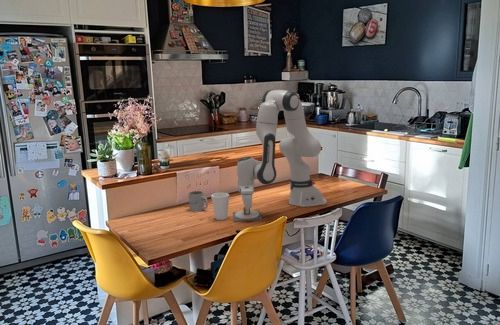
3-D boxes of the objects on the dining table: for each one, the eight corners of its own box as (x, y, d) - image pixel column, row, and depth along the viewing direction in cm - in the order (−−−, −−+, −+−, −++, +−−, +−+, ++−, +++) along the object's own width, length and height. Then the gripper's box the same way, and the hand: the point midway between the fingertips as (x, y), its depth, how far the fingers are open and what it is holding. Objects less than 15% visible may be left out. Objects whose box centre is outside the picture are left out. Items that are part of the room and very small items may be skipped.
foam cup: (227, 221, 226) (226, 197, 224) (210, 220, 228) (209, 197, 226) (231, 215, 236) (230, 192, 233) (215, 215, 237) (214, 192, 235)
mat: (259, 211, 241) (259, 210, 241) (262, 220, 226) (262, 218, 226) (232, 213, 240) (232, 212, 240) (234, 221, 225) (234, 220, 225)
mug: (186, 209, 249) (185, 193, 247) (198, 206, 255) (197, 190, 253) (200, 213, 241) (199, 196, 239) (211, 210, 247) (210, 193, 245)
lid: (257, 211, 240) (257, 203, 239) (260, 218, 227) (260, 210, 226) (234, 212, 239) (234, 204, 238) (235, 220, 226) (235, 211, 225)
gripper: (238, 182, 240) (239, 206, 242) (241, 192, 220) (242, 218, 222) (250, 182, 240) (251, 205, 243) (253, 191, 220) (254, 217, 223)
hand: (246, 211), depth 232 cm, fingers closed on lid, 4 cm apart
